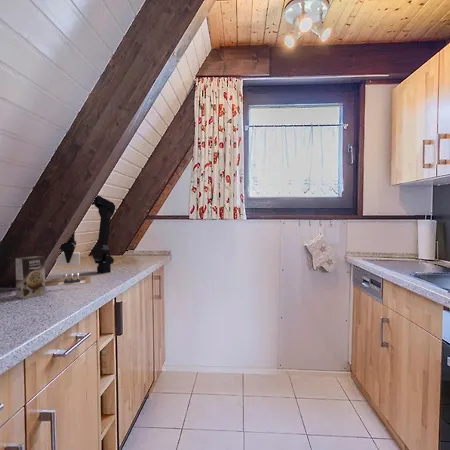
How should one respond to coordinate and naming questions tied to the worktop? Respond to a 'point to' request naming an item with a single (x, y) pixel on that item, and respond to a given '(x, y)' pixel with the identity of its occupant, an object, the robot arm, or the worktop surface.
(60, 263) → the block
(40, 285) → the cookie box
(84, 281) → the board
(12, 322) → the worktop surface
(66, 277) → the dark grey bulb holder
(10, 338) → the worktop surface
